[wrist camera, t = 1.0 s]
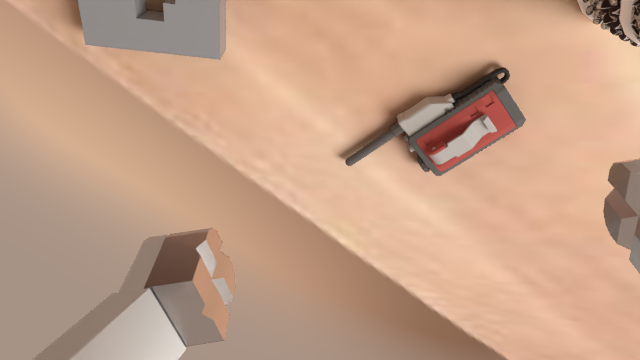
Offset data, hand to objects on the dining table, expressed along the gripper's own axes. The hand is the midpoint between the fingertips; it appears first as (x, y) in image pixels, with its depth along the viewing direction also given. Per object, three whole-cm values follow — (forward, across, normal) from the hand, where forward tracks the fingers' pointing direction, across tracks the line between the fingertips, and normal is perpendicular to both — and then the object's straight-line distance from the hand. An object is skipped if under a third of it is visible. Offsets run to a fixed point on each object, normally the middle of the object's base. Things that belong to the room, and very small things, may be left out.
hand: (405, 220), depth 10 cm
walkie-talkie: (+40, -6, +21) cm, 46 cm away
